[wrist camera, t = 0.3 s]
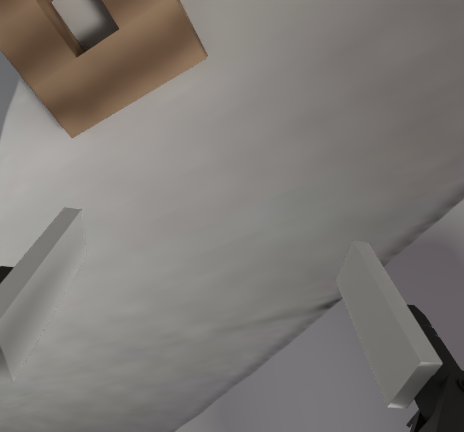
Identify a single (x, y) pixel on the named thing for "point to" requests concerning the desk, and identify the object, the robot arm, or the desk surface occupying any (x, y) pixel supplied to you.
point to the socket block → (97, 56)
